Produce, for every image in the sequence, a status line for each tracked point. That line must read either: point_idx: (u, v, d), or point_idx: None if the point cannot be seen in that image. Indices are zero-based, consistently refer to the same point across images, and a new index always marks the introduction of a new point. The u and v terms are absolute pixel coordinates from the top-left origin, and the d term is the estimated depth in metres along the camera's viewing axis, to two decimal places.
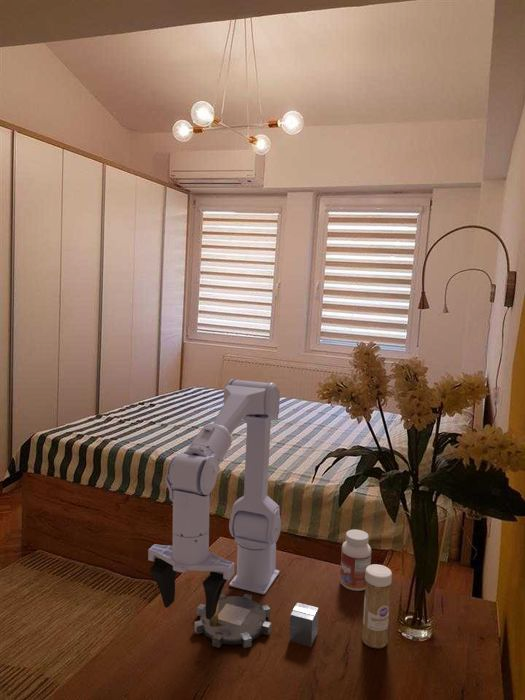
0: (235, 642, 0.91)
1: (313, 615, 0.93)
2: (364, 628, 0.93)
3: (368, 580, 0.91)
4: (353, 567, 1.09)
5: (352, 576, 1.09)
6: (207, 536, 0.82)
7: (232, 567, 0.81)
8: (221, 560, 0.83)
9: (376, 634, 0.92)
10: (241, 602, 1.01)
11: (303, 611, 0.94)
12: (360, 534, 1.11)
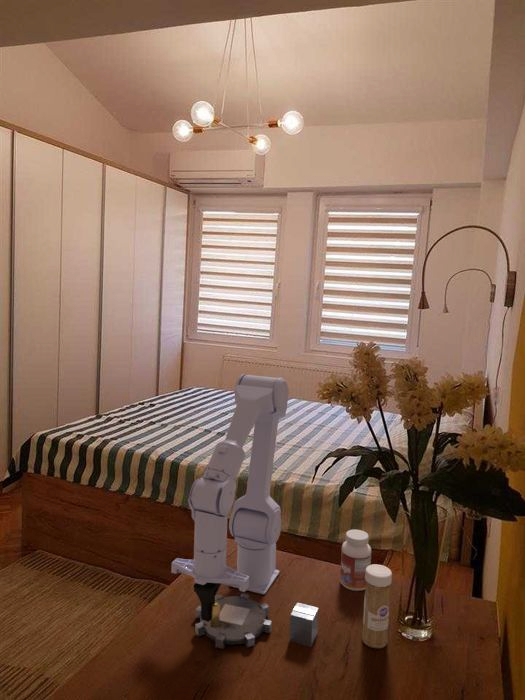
0: (238, 642, 0.91)
1: (313, 615, 0.93)
2: (364, 628, 0.93)
3: (368, 580, 0.91)
4: (353, 567, 1.09)
5: (352, 576, 1.09)
6: (224, 552, 0.92)
7: (247, 580, 0.91)
8: (237, 574, 0.93)
9: (376, 634, 0.92)
10: (239, 602, 1.01)
11: (303, 611, 0.94)
12: (360, 534, 1.11)
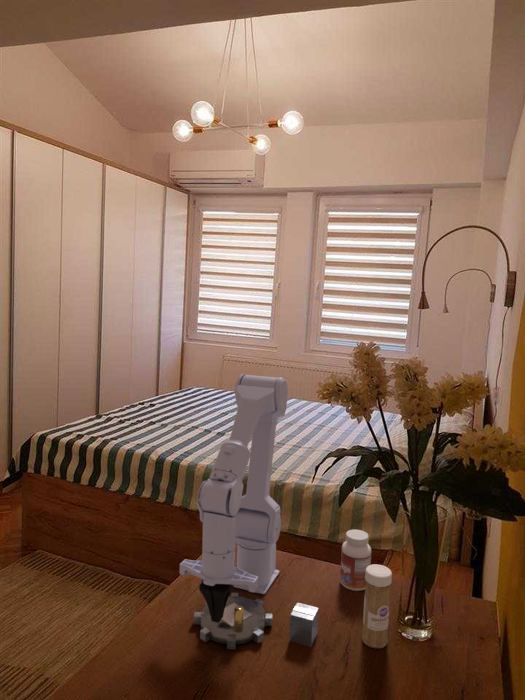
0: (264, 627, 0.96)
1: (313, 615, 0.93)
2: (364, 628, 0.93)
3: (368, 580, 0.91)
4: (353, 567, 1.09)
5: (352, 576, 1.09)
6: (233, 553, 0.92)
7: (256, 581, 0.91)
8: (246, 574, 0.92)
9: (376, 634, 0.92)
10: None
11: (303, 611, 0.94)
12: (360, 534, 1.11)
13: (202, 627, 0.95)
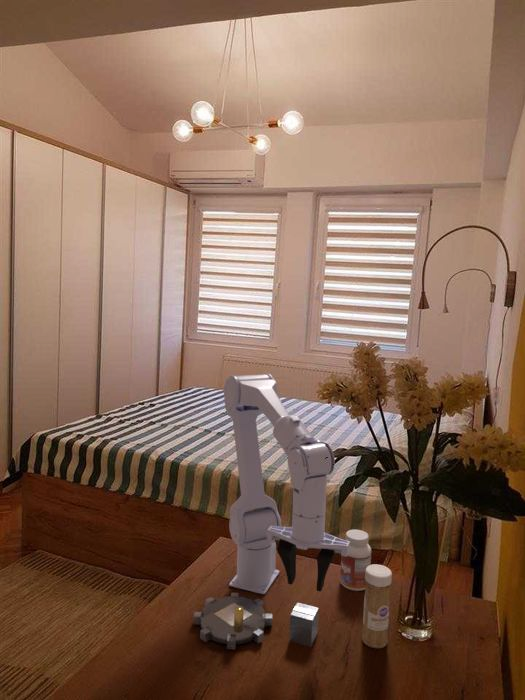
0: (264, 627, 0.96)
1: (313, 615, 0.93)
2: (364, 628, 0.93)
3: (368, 580, 0.91)
4: (353, 567, 1.09)
5: (352, 576, 1.09)
6: (324, 517, 0.91)
7: (348, 545, 0.90)
8: (336, 539, 0.92)
9: (376, 634, 0.92)
10: (217, 605, 1.00)
11: (303, 611, 0.94)
12: (360, 534, 1.11)
13: (202, 627, 0.95)
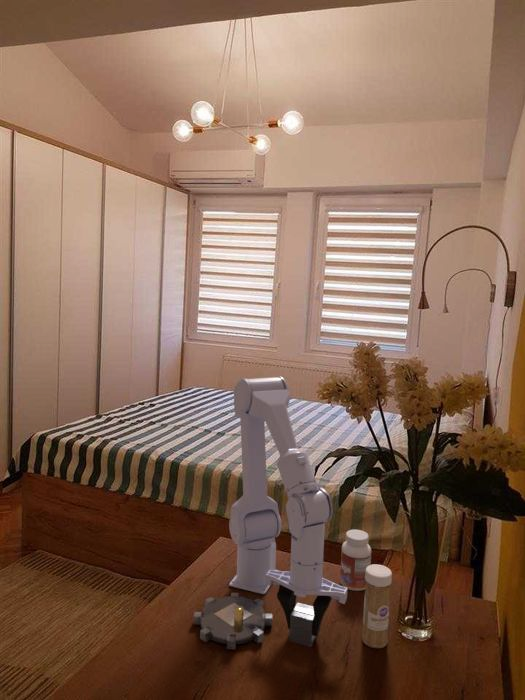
0: (264, 627, 0.96)
1: (313, 615, 0.93)
2: (364, 628, 0.93)
3: (368, 580, 0.91)
4: (353, 567, 1.09)
5: (352, 576, 1.09)
6: (322, 564, 0.92)
7: (346, 592, 0.91)
8: (334, 585, 0.93)
9: (376, 634, 0.92)
10: (217, 605, 1.00)
11: (303, 611, 0.94)
12: (360, 534, 1.11)
13: (202, 627, 0.95)
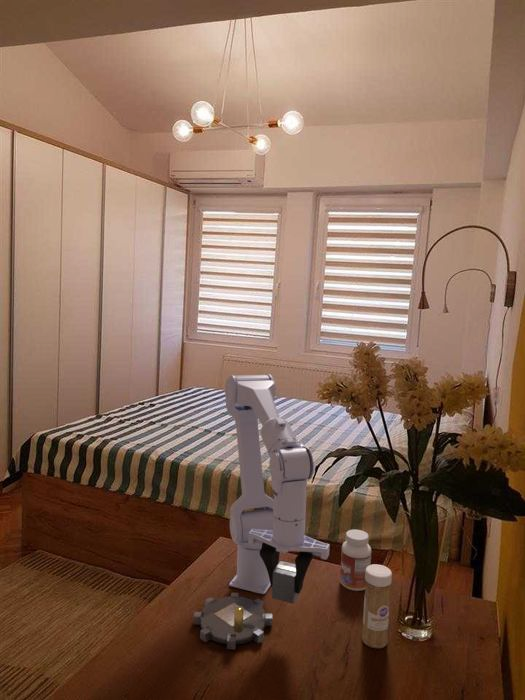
0: (264, 627, 0.96)
1: (295, 572, 0.93)
2: (364, 628, 0.93)
3: (368, 580, 0.91)
4: (353, 567, 1.09)
5: (352, 576, 1.09)
6: (304, 521, 0.92)
7: (328, 548, 0.91)
8: (316, 542, 0.93)
9: (376, 634, 0.92)
10: (217, 605, 1.00)
11: (286, 569, 0.94)
12: (360, 534, 1.11)
13: (202, 627, 0.95)
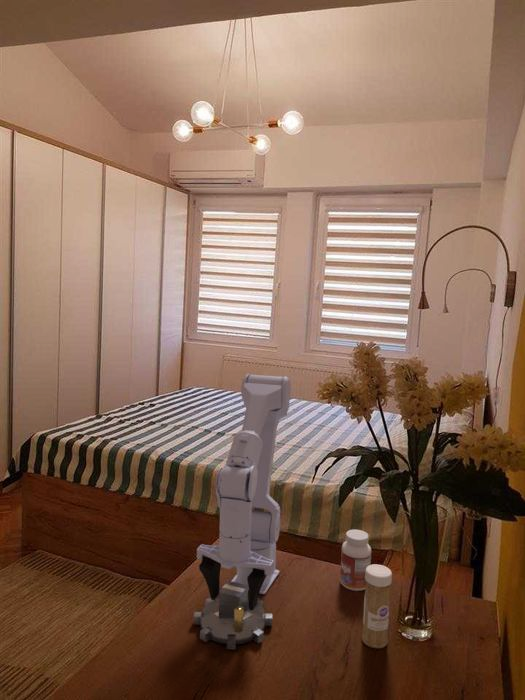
0: (264, 627, 0.96)
1: (241, 592, 0.95)
2: (364, 628, 0.93)
3: (368, 580, 0.91)
4: (353, 567, 1.09)
5: (352, 576, 1.09)
6: (249, 537, 0.94)
7: (272, 564, 0.93)
8: (262, 558, 0.95)
9: (376, 634, 0.92)
10: (217, 605, 1.00)
11: (232, 589, 0.96)
12: (360, 534, 1.11)
13: (202, 627, 0.95)
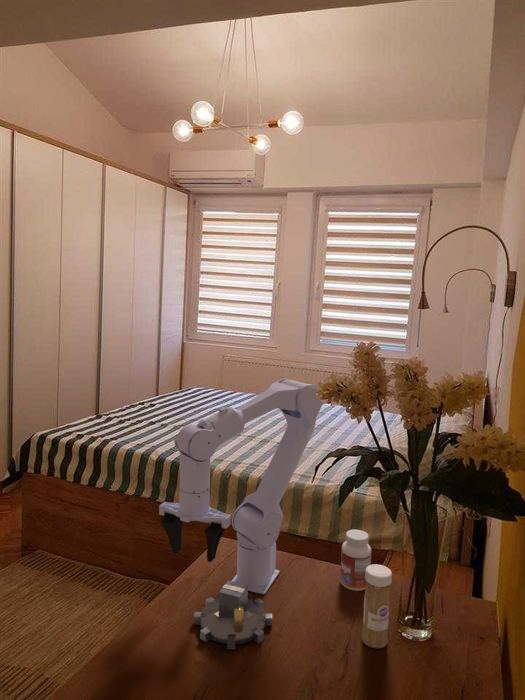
0: (264, 627, 0.96)
1: (241, 592, 0.95)
2: (364, 628, 0.93)
3: (368, 580, 0.91)
4: (353, 567, 1.09)
5: (352, 576, 1.09)
6: (208, 493, 1.00)
7: (228, 518, 0.99)
8: (219, 513, 1.01)
9: (376, 634, 0.92)
10: (217, 605, 1.00)
11: (232, 589, 0.96)
12: (360, 534, 1.11)
13: (202, 627, 0.95)
